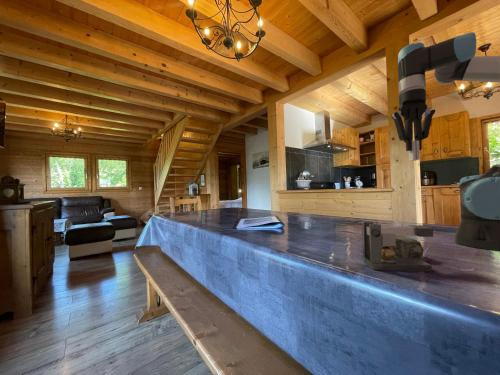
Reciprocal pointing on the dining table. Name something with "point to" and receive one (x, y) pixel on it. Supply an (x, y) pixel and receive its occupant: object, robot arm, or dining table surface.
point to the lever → (402, 233)
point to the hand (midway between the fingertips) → (414, 160)
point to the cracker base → (377, 254)
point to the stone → (407, 247)
